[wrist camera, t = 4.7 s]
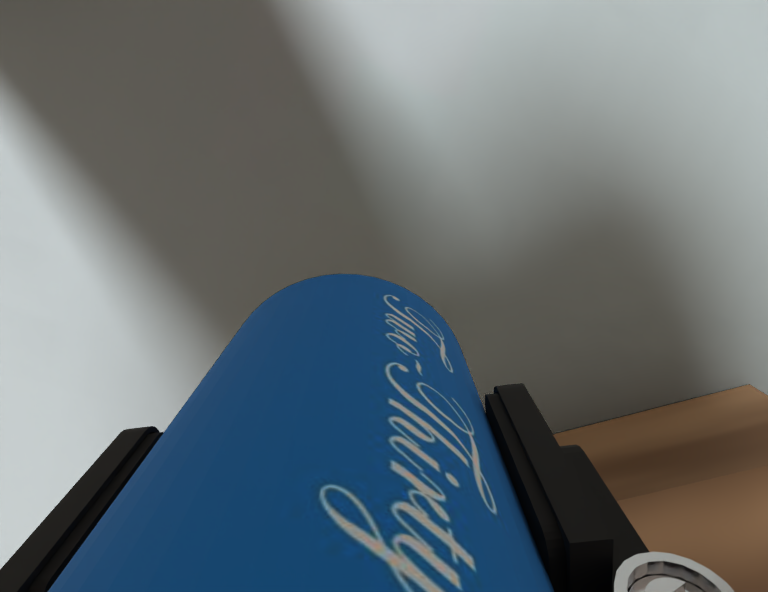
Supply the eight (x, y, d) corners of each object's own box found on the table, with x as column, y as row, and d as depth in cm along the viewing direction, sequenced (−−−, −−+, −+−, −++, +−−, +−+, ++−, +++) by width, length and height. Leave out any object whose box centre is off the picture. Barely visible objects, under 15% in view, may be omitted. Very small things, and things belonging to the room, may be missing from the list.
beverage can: (505, 332, 13) (1210, 1416, 2) (394, 501, 15) (439, 1596, 4) (293, 222, 12) (-651, 1148, 1) (200, 416, 14) (-537, 1559, 3)
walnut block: (460, 458, 19) (476, 534, 15) (749, 384, 18) (847, 446, 14) (522, 662, 22) (550, 771, 18) (776, 609, 21) (863, 712, 17)
